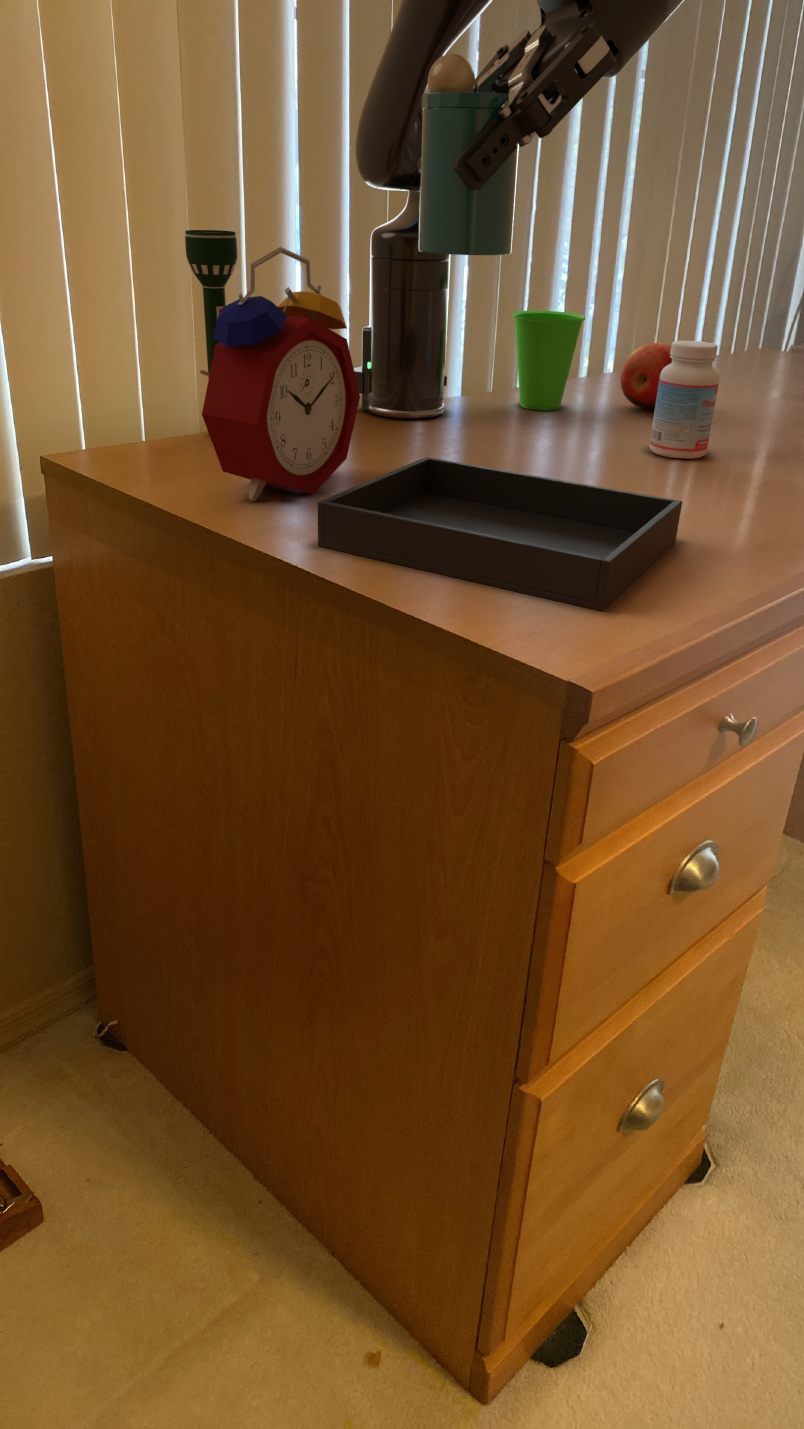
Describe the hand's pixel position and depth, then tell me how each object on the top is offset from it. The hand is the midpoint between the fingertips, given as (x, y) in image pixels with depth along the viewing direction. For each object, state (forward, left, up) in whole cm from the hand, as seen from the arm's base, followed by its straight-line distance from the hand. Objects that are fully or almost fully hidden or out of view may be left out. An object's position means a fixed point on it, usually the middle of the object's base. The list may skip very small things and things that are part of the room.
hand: (444, 177), depth 64 cm
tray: (+4, +4, -25) cm, 26 cm away
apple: (-3, +65, -26) cm, 70 cm away
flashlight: (-37, +20, -26) cm, 49 cm away
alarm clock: (-20, +7, -26) cm, 33 cm away
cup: (-15, +57, -25) cm, 64 cm away
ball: (0, +1, +5) cm, 5 cm away
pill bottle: (+7, +43, -26) cm, 51 cm away
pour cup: (+1, +1, -4) cm, 5 cm away
